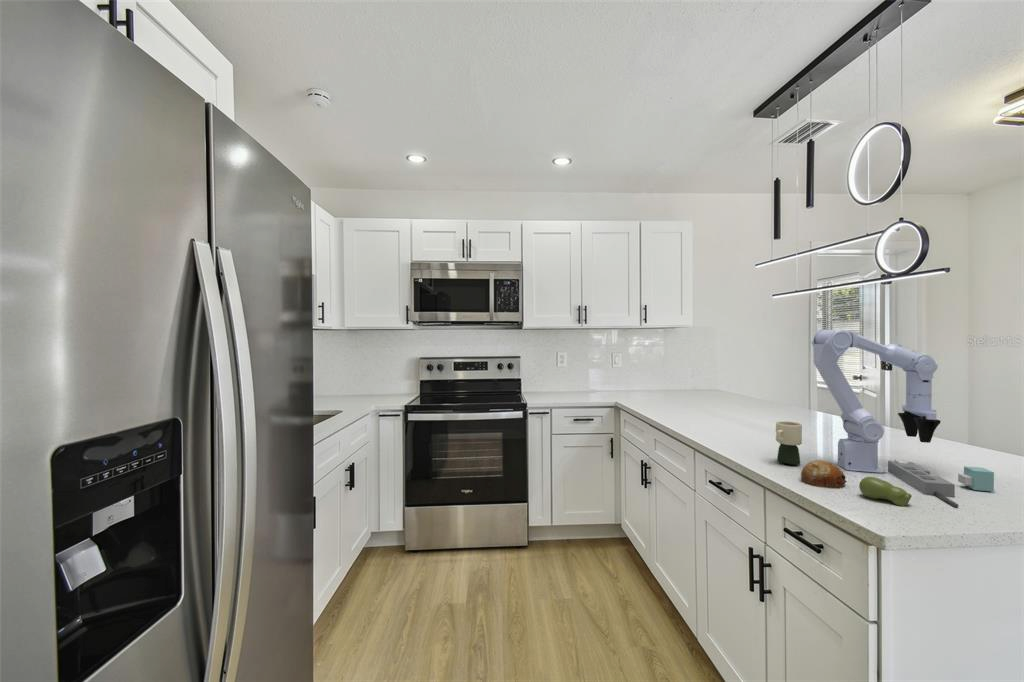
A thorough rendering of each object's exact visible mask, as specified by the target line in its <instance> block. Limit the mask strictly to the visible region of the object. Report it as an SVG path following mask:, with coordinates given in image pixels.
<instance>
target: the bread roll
mask: <svg viewBox="0 0 1024 682" xmlns="http://www.w3.org/2000/svg"><path fill="white" fill-rule="evenodd" d="M800 478H801V480H802V481H803V482H804V483H805V484H807V485H811V486H815V487H818V488H826V487H828V488H827V489H840V488H839V487H841V488H843V487H844V486H845V484H846V483H847V480H846V478H847V477H846V475H845V473H844V471H843V470H841V469H840V468H839V467H838V466H836V465H834V464H833V463H832V462H828V461H825V460H822V459H815V460H811V461H809V462H808V463H806V464H805V465H804V466H803V467H802V469H801V472H800Z"/></svg>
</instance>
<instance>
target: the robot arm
mask: <svg viewBox="0 0 1024 682" xmlns="http://www.w3.org/2000/svg"><path fill="white" fill-rule="evenodd" d="M811 345H812V347H813V364H814V366H815V368H816V369H817V371H818V373H819V374H820V376H821V378H822V379H823V382H824V383H825V385H826V386H827V389H828V390H829V392H830V393H831V395H832V397H833V399H834V400H835V402H836V404H837V405H838V407H839V409H840V410H841V412H842V414H841V415H840V419H841V420H842V428H843V430H844V432H845V433H847V437H846V438H840V439H838V441H837V461H836V464H837V465H839V466H840V467H842V468H843V469H844V470H846V471H851V472H853V471H854V472H856V471H857V472H867V473H878V474H879V473H880V474H883V473H885V471H884V470H883V469H880V468H879V467H878V466H879V465H878V464H879V458H878V457H879V456H878V455H879V450H878V449H879V442H880V440H881V439H882V438H883V436H884V433H885V430H884V426H883V425H882V424H881V423H880V422H879V421H878V420H876V419H875V418H874V416H873V415H872V414H871V413H870V412H869V411H868V410H866V409H865V408H864V407H863V405H862V404H861V402H860V400H859V398H858V397H857V394H856V393H855V392H854V390H853V388H852V386H851V385H850V383H849V381H848V380H847V378H846V377H845V374H844V373H843V371H842V369H841V367H840V366H839V364H838V361H839V359H840V357H842V355H843V354H844V353H846V351H848V349H849V348H856V349H860V350H862V351H866V352H868V353H872V354H874V355H876V356H878V357H879V359H880V360H881V362H884V363H887V364H889V365H891V366H895V367H898V368H900V369H902V370H903V372H905V404H902V405H901V409H902V410H901V411H902V412H897V416H898V417H899V418H900V421H902V425H903V426H904V430H905V431H904V432H905V433H906V434H905V435H906V436H907V437H911V438H912V437H917V436H918V439H919V441H920V443H927V444H928V443H929V444H930V443H931V441H932V439H933V436H934V434H935V433H934V432H935V430H936V429H937V428H938V426H940V424H941V420H939V419H937V409H934V408H932V397H933V396H932V395H933V393H932V391H933V390H932V387H933V386H932V382H933V381H932V380H933V378H934V373H935V372H936V371H937V370H938V367H939V364H937V363H936V360H935V359H934V358H933V357H932V356H930V355H927V354H926V355H925V354H919V353H918V351H917V350H915V349H914V350H909V349H907V348H904V347H902V346H903V345H902V344H899V343H888V344H886V345H884V344H882V343H880V342H878V341H875V340H873V339H870V338H868V337H865V336H863V335H860V334H858V333H856V332H853V331H848V330H846V329H841V328H840V329H839V328H838V329H820V330H818V331H817V332H816V333H815V334H814V336H813V338H812V340H811Z"/></svg>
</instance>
